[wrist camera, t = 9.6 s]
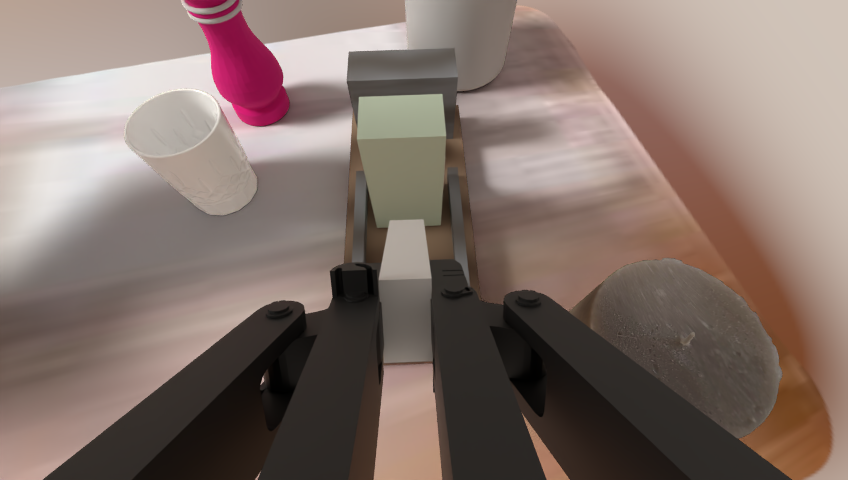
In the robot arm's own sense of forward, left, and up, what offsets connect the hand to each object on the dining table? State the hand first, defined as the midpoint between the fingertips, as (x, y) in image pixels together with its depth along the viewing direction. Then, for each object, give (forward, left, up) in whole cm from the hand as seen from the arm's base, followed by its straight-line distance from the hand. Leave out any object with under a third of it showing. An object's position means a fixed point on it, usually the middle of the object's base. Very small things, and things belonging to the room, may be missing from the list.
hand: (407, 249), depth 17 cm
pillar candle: (+14, +2, -19) cm, 24 cm away
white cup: (-25, +10, -19) cm, 32 cm away
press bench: (-5, +12, -19) cm, 22 cm away
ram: (-5, +12, -16) cm, 21 cm away
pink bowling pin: (-27, +22, -19) cm, 39 cm away
